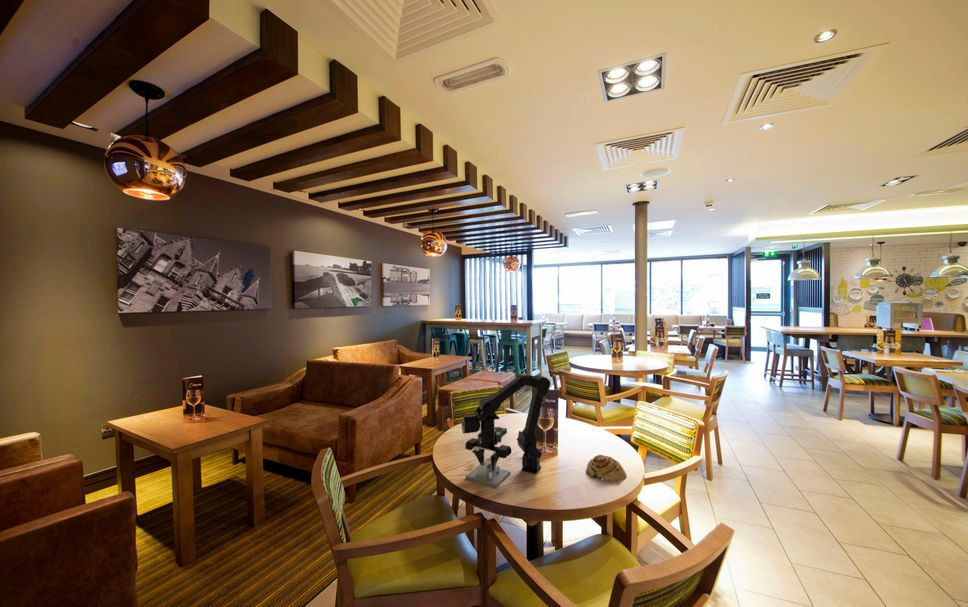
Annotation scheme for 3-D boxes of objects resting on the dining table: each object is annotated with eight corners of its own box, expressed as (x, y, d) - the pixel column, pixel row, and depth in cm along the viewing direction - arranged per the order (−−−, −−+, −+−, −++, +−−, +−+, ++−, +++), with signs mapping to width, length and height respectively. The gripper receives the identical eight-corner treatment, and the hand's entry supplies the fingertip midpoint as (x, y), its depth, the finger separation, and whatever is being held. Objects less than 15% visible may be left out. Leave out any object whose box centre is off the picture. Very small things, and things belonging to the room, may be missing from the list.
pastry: (580, 470, 142) (579, 451, 142) (607, 463, 148) (607, 445, 148) (603, 486, 130) (602, 465, 130) (632, 477, 136) (632, 457, 136)
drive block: (496, 470, 141) (496, 458, 141) (486, 479, 134) (486, 466, 134) (489, 468, 142) (489, 456, 142) (479, 477, 136) (479, 464, 136)
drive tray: (510, 473, 140) (510, 465, 140) (496, 487, 130) (496, 478, 130) (481, 465, 147) (481, 457, 147) (465, 478, 137) (465, 469, 137)
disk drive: (490, 430, 190) (477, 439, 177) (490, 425, 190) (477, 434, 177) (507, 433, 185) (495, 443, 172) (507, 428, 185) (495, 437, 172)
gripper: (516, 427, 140) (517, 465, 140) (478, 420, 150) (479, 455, 150) (504, 437, 131) (505, 477, 131) (464, 428, 140) (464, 466, 140)
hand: (488, 468), depth 138 cm, fingers open, 5 cm apart
